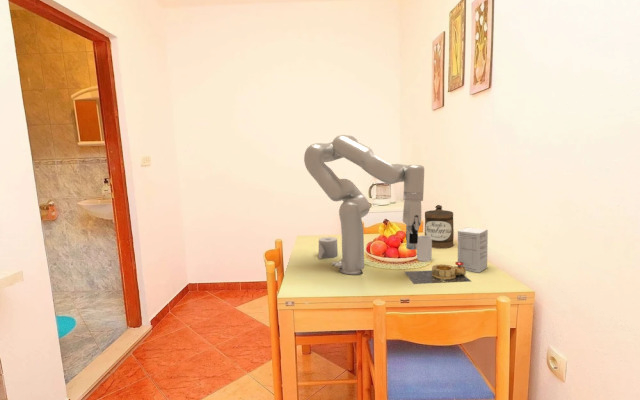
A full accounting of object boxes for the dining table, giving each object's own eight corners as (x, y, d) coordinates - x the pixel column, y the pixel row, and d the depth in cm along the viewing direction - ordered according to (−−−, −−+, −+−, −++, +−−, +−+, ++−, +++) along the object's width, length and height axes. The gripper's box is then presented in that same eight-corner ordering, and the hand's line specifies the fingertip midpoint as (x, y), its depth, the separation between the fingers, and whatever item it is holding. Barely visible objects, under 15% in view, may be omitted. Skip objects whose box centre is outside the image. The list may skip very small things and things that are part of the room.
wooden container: (423, 247, 187) (423, 206, 184) (426, 240, 200) (426, 202, 197) (452, 249, 181) (453, 207, 178) (453, 242, 194) (454, 203, 192)
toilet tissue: (317, 260, 170) (316, 243, 169) (321, 253, 183) (320, 237, 182) (335, 260, 169) (335, 243, 168) (338, 253, 182) (337, 237, 181)
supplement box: (488, 267, 151) (488, 229, 149) (479, 273, 144) (480, 233, 142) (465, 263, 158) (466, 226, 155) (456, 268, 151) (457, 230, 149)
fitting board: (413, 287, 131) (413, 270, 131) (404, 275, 145) (403, 259, 145) (471, 285, 132) (472, 268, 131) (456, 272, 146) (456, 257, 145)
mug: (431, 265, 157) (431, 239, 155) (416, 264, 159) (416, 238, 157) (432, 258, 166) (432, 234, 165) (417, 258, 168) (417, 233, 167)
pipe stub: (407, 249, 138) (408, 227, 137) (404, 246, 143) (404, 225, 141) (418, 249, 138) (419, 227, 137) (415, 246, 143) (416, 225, 141)
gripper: (398, 193, 146) (397, 236, 148) (409, 199, 129) (408, 247, 132) (416, 193, 146) (414, 236, 148) (429, 199, 129) (427, 247, 132)
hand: (411, 241), depth 140 cm, fingers closed on pipe stub, 4 cm apart
